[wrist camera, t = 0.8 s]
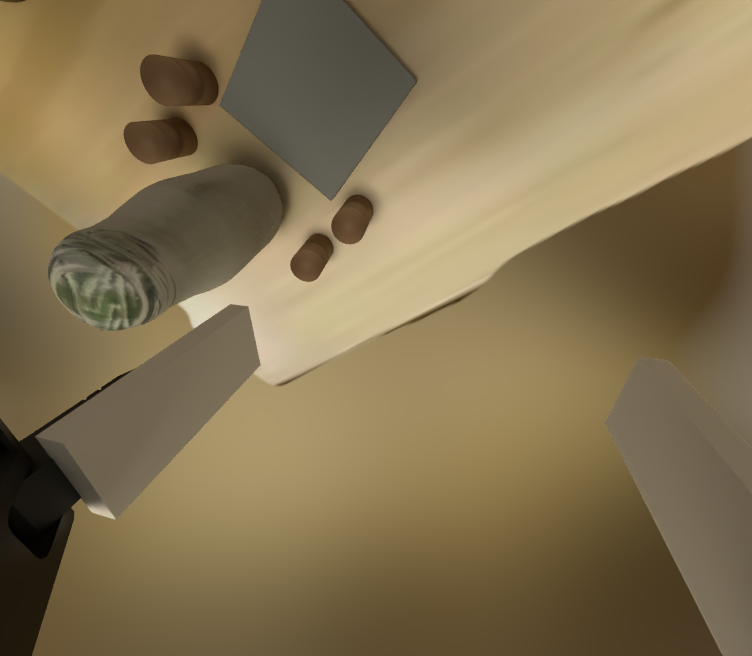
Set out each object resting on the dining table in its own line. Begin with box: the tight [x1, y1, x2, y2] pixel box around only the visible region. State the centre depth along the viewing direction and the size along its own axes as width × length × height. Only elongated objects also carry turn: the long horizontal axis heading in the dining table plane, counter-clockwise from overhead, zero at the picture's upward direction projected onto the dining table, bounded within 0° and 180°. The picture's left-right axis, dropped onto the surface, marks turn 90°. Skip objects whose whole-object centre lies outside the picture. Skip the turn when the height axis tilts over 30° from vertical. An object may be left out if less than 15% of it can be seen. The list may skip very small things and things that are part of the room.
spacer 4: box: [331, 195, 373, 244], centre depth 40 cm, size 4×4×7 cm
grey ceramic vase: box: [48, 165, 282, 331], centre depth 33 cm, size 10×10×28 cm
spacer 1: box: [140, 55, 218, 106], centre depth 34 cm, size 4×4×7 cm
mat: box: [220, 0, 417, 201], centre depth 36 cm, size 16×16×1 cm
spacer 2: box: [124, 119, 197, 164], centre depth 38 cm, size 4×4×7 cm
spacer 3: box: [290, 234, 333, 282], centre depth 44 cm, size 4×4×7 cm
